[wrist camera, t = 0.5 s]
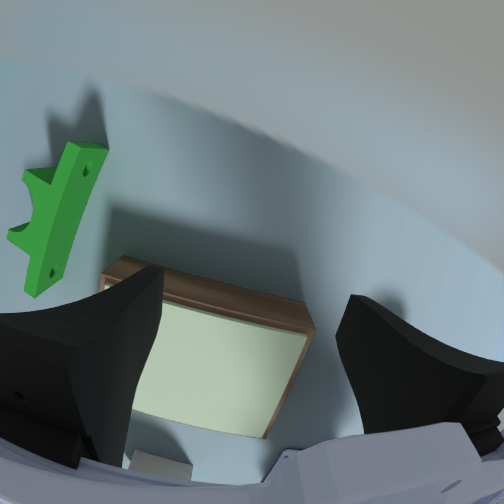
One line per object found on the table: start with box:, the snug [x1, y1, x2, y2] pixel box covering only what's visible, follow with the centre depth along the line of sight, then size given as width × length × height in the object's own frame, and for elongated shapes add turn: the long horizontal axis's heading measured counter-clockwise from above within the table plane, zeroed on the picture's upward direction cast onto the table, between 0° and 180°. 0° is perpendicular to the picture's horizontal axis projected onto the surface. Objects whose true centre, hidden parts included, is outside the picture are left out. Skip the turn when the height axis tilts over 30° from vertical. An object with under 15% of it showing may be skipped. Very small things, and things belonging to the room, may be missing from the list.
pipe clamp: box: [7, 141, 109, 298], centre depth 19 cm, size 11×4×5 cm, turn 151°
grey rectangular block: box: [128, 449, 193, 481], centre depth 24 cm, size 4×7×10 cm, turn 72°
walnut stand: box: [99, 256, 316, 439], centre depth 22 cm, size 11×14×4 cm
